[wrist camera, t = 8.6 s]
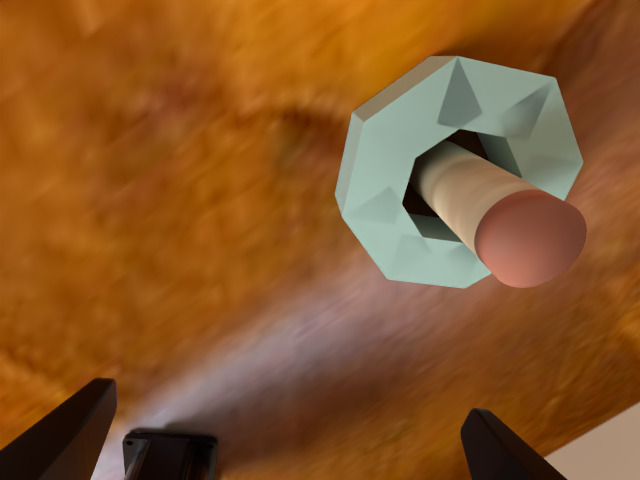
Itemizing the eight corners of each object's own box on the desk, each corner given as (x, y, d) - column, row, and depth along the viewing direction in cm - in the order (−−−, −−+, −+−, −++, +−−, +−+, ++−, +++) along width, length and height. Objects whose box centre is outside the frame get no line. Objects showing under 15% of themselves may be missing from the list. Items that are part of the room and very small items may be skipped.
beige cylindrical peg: (453, 201, 19) (557, 292, 12) (401, 192, 19) (474, 282, 11) (474, 145, 18) (605, 209, 11) (418, 135, 18) (513, 193, 10)
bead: (488, 265, 22) (516, 294, 19) (324, 243, 20) (329, 272, 17) (568, 86, 17) (619, 91, 15) (367, 42, 16) (382, 39, 13)
